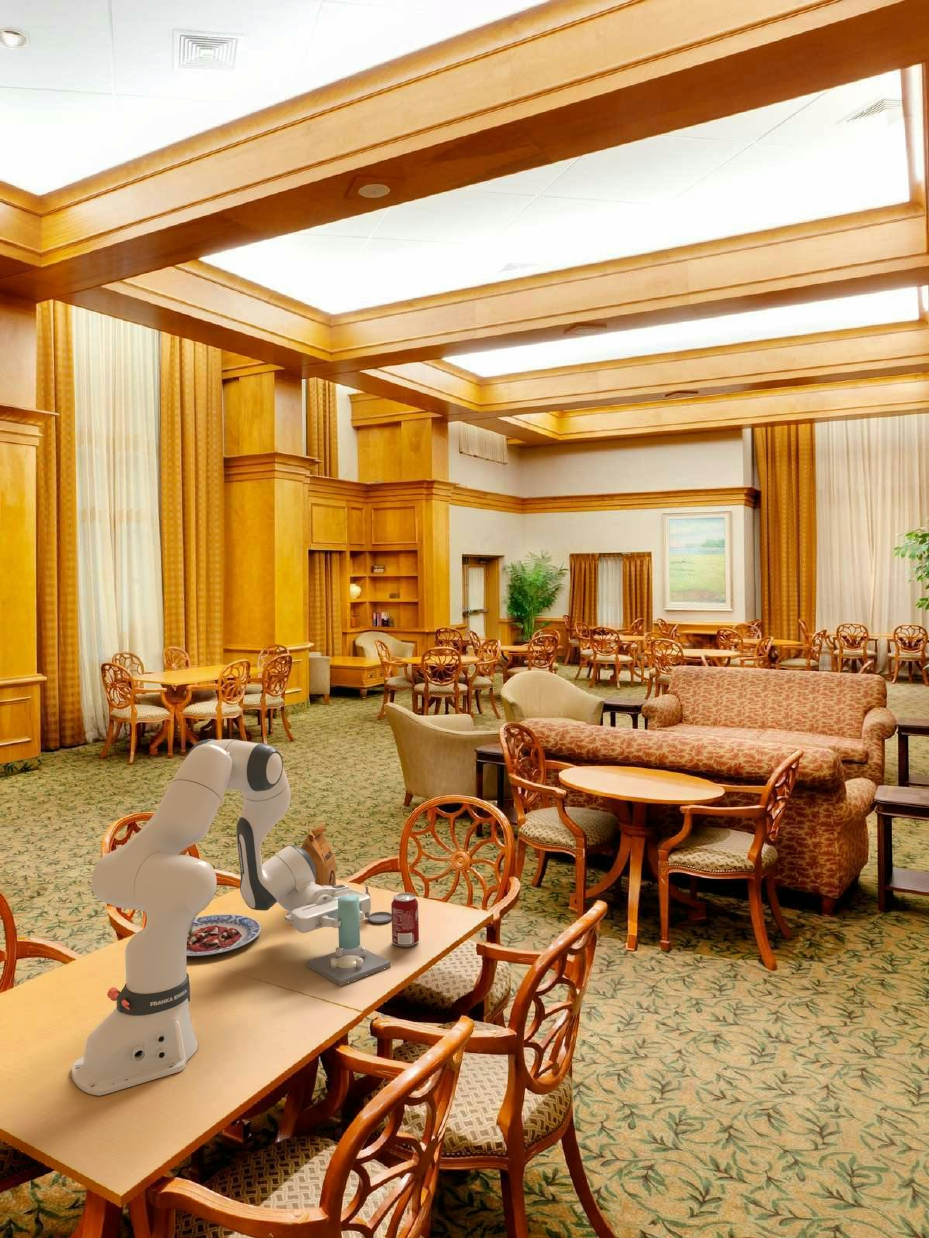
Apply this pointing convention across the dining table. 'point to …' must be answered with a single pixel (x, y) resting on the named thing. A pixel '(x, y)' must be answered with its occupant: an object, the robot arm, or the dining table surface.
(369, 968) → the dowel seat
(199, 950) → the ceramic plate
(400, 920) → the soda can
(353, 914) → the teal post
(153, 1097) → the dining table surface
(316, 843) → the coffee package
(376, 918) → the pocket watch
